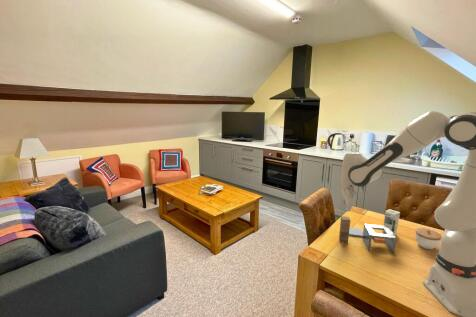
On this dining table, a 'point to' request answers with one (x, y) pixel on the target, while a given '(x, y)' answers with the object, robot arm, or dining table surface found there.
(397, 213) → the syrup box
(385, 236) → the frame
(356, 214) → the dining table surface
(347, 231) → the brown rectangular block
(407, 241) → the dining table surface
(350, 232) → the slate pad
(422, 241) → the lidded jar
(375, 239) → the button
